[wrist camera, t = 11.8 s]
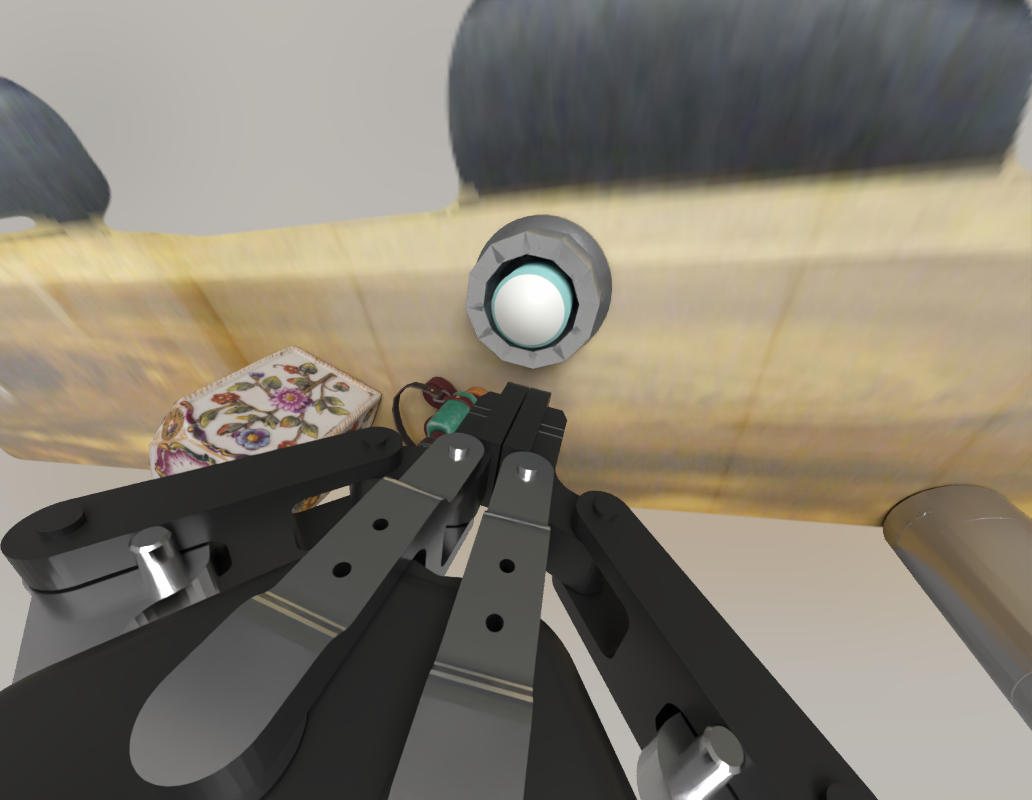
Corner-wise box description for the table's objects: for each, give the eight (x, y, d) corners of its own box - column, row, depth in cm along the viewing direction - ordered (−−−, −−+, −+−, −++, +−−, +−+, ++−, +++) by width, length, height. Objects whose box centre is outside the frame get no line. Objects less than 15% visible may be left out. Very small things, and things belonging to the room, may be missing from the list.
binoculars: (346, 409, 33) (453, 439, 30) (414, 364, 41) (501, 383, 39) (359, 489, 37) (453, 521, 34) (417, 433, 46) (496, 454, 43)
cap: (583, 266, 31) (577, 281, 26) (566, 333, 34) (557, 357, 29) (515, 250, 32) (496, 261, 27) (503, 317, 35) (485, 338, 30)
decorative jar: (386, 392, 43) (258, 506, 28) (362, 461, 49) (246, 585, 34) (290, 340, 43) (106, 425, 27) (278, 415, 49) (121, 520, 33)
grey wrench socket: (631, 232, 30) (634, 240, 26) (589, 368, 36) (585, 394, 32) (485, 200, 31) (463, 202, 27) (468, 336, 38) (448, 357, 33)
